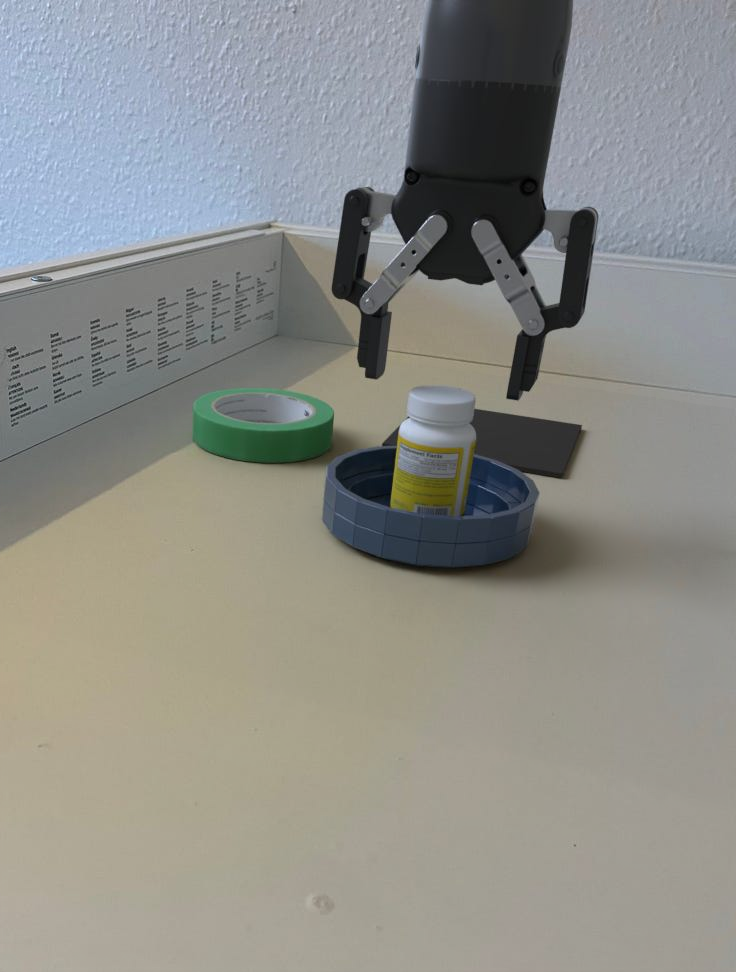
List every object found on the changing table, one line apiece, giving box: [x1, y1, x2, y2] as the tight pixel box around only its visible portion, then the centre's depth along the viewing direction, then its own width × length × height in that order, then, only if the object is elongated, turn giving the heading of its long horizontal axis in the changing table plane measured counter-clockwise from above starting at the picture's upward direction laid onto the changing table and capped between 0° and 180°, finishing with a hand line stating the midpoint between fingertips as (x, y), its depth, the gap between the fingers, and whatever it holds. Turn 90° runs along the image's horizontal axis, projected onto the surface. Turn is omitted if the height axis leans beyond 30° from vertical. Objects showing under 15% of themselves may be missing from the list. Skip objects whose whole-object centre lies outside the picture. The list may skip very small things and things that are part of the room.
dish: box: [321, 445, 540, 569], centre depth 63 cm, size 13×13×4 cm
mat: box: [381, 408, 583, 479], centre depth 82 cm, size 14×14×1 cm
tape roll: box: [192, 387, 335, 464], centre depth 78 cm, size 11×11×3 cm
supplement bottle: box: [390, 384, 476, 516], centre depth 61 cm, size 5×5×8 cm
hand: (442, 386), depth 59 cm, fingers open, 8 cm apart
